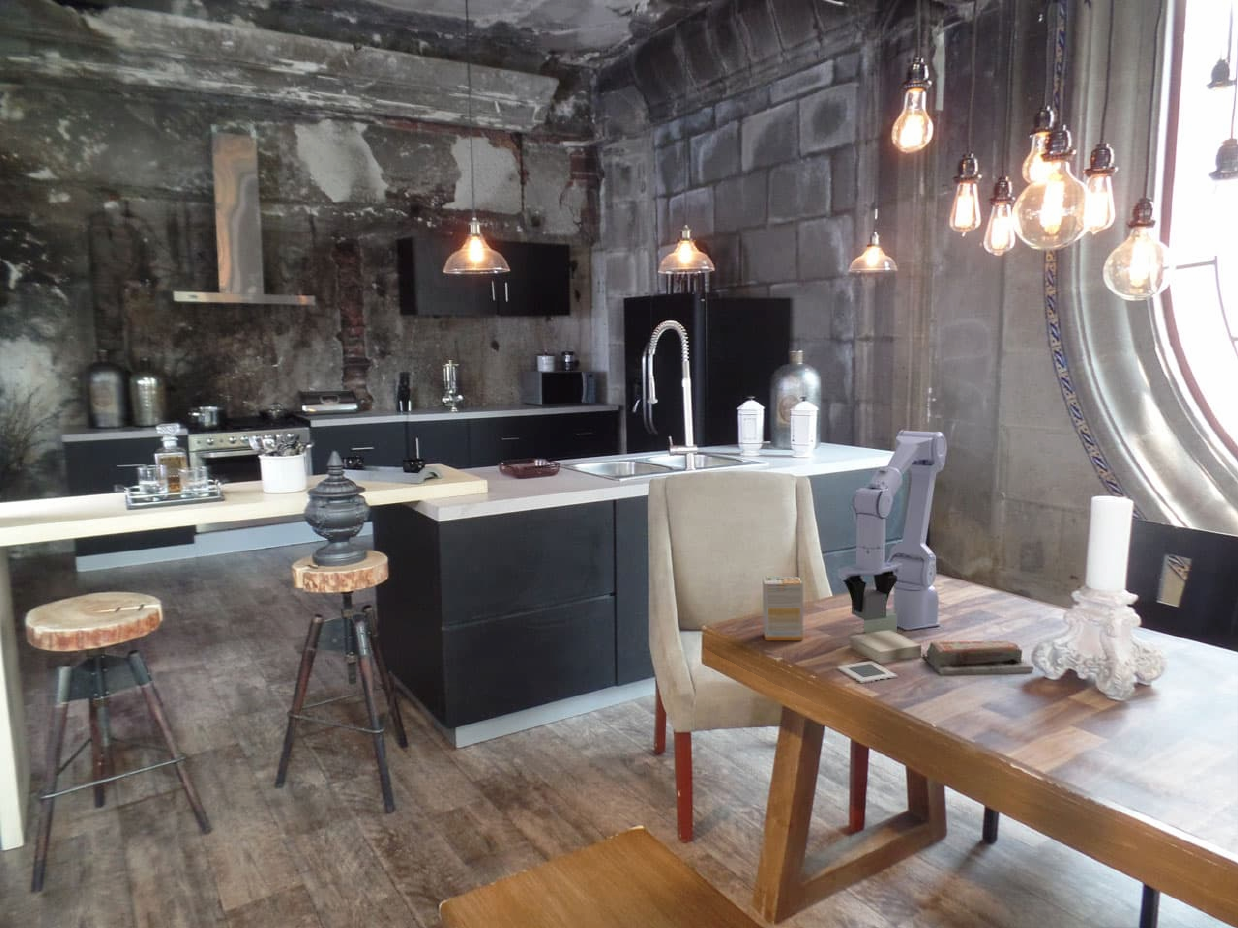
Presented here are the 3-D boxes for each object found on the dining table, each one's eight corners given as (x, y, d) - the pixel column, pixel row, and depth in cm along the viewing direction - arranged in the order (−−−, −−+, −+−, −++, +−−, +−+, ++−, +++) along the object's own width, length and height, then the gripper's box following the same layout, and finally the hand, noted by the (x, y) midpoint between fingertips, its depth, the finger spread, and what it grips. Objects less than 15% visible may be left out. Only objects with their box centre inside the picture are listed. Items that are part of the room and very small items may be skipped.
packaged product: (942, 653, 161) (922, 636, 170) (941, 677, 161) (921, 659, 171) (1035, 650, 161) (1009, 633, 171) (1034, 674, 162) (1009, 656, 171)
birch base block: (889, 643, 180) (890, 629, 180) (920, 659, 171) (921, 644, 170) (850, 649, 177) (850, 636, 177) (879, 666, 168) (880, 651, 167)
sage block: (882, 629, 188) (883, 607, 188) (896, 636, 184) (897, 614, 183) (863, 631, 187) (864, 610, 186) (877, 639, 182) (877, 616, 181)
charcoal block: (871, 610, 179) (872, 588, 179) (886, 617, 174) (886, 594, 174) (851, 613, 178) (852, 590, 177) (865, 620, 173) (865, 597, 172)
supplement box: (800, 633, 186) (800, 576, 184) (802, 641, 182) (803, 582, 180) (762, 633, 187) (762, 576, 185) (764, 640, 182) (764, 582, 181)
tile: (871, 662, 168) (872, 660, 168) (896, 677, 161) (897, 674, 161) (837, 668, 166) (837, 665, 166) (861, 683, 158) (861, 680, 158)
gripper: (888, 538, 180) (887, 599, 182) (829, 544, 176) (828, 607, 177) (909, 545, 173) (907, 609, 175) (848, 552, 169) (847, 617, 171)
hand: (869, 608), depth 176 cm, fingers closed on charcoal block, 5 cm apart
